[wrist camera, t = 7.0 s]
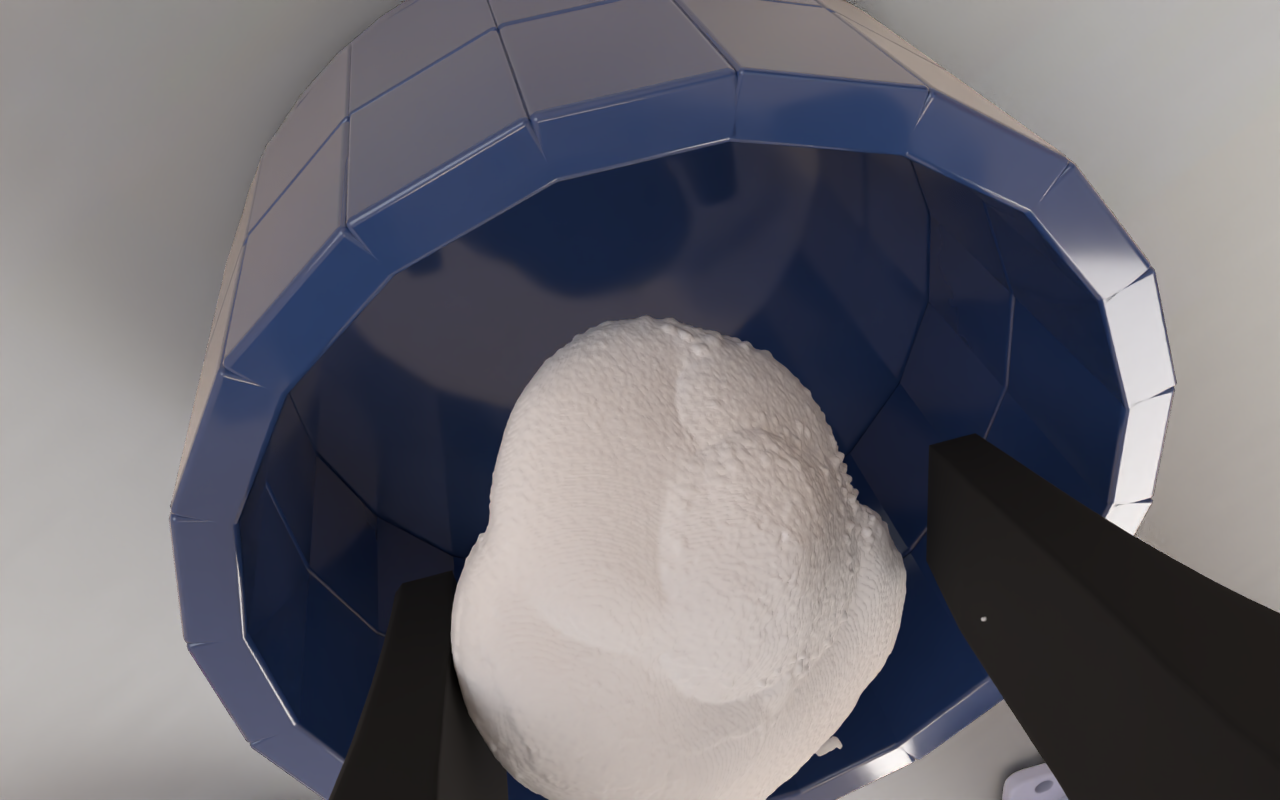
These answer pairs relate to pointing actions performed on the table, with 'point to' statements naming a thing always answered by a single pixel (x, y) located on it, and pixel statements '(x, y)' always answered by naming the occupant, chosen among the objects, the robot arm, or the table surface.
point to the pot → (627, 289)
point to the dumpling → (670, 574)
